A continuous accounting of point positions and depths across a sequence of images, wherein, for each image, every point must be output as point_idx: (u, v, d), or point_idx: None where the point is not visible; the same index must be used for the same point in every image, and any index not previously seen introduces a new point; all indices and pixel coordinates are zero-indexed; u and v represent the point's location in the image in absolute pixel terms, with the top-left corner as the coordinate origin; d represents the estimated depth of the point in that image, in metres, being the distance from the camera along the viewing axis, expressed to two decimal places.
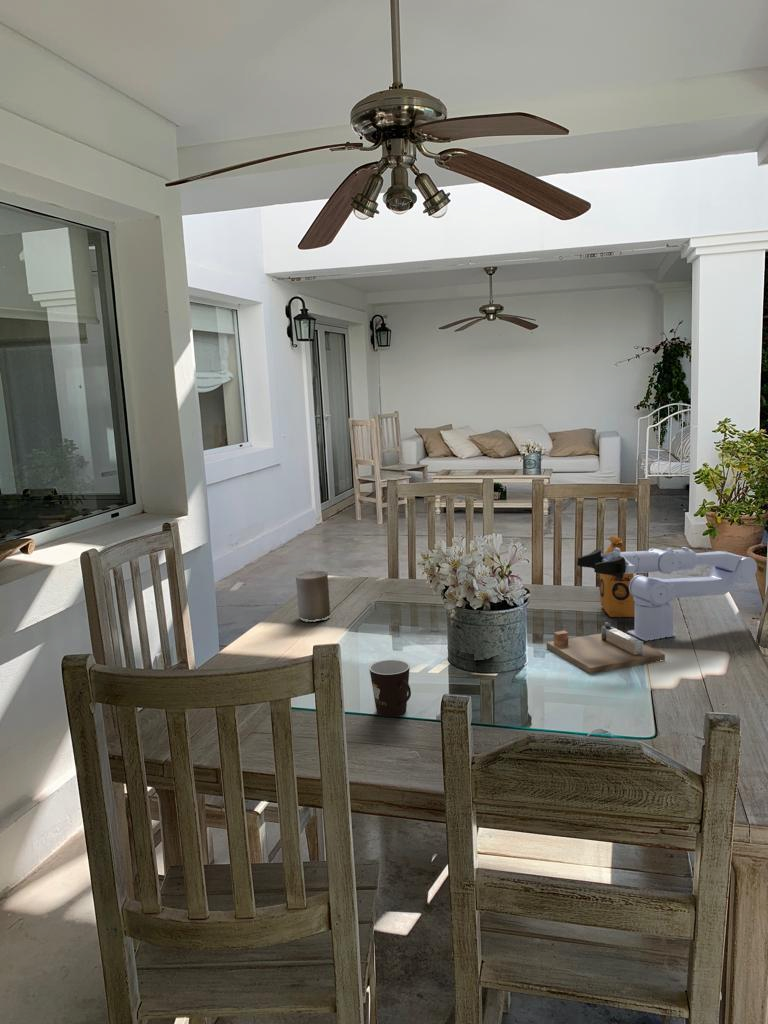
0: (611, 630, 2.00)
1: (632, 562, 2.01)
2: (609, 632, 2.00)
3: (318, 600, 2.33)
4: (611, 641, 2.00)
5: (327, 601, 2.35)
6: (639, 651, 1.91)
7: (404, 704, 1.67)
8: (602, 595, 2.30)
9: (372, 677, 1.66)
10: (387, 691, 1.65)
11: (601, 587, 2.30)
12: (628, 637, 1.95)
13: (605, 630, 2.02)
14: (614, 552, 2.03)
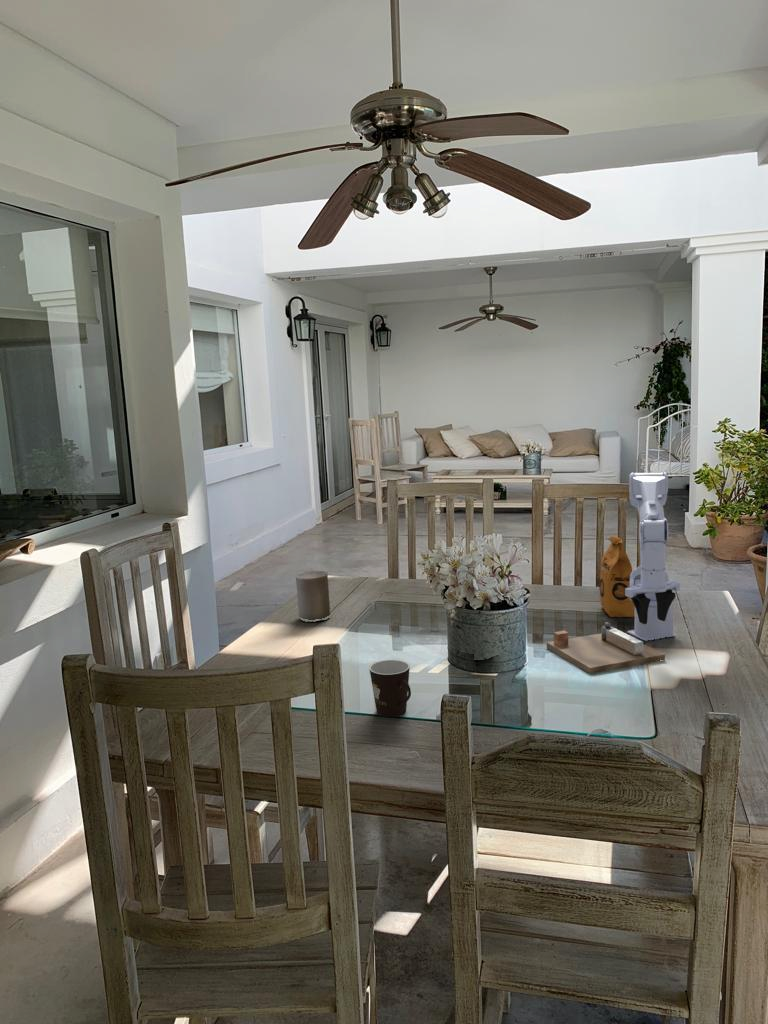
0: (611, 630, 2.00)
1: None
2: (609, 632, 2.00)
3: (318, 600, 2.33)
4: (611, 641, 2.00)
5: (327, 601, 2.35)
6: (639, 651, 1.91)
7: (404, 704, 1.67)
8: (602, 595, 2.30)
9: (372, 677, 1.66)
10: (387, 691, 1.65)
11: (601, 587, 2.30)
12: (628, 637, 1.95)
13: (605, 630, 2.02)
14: None
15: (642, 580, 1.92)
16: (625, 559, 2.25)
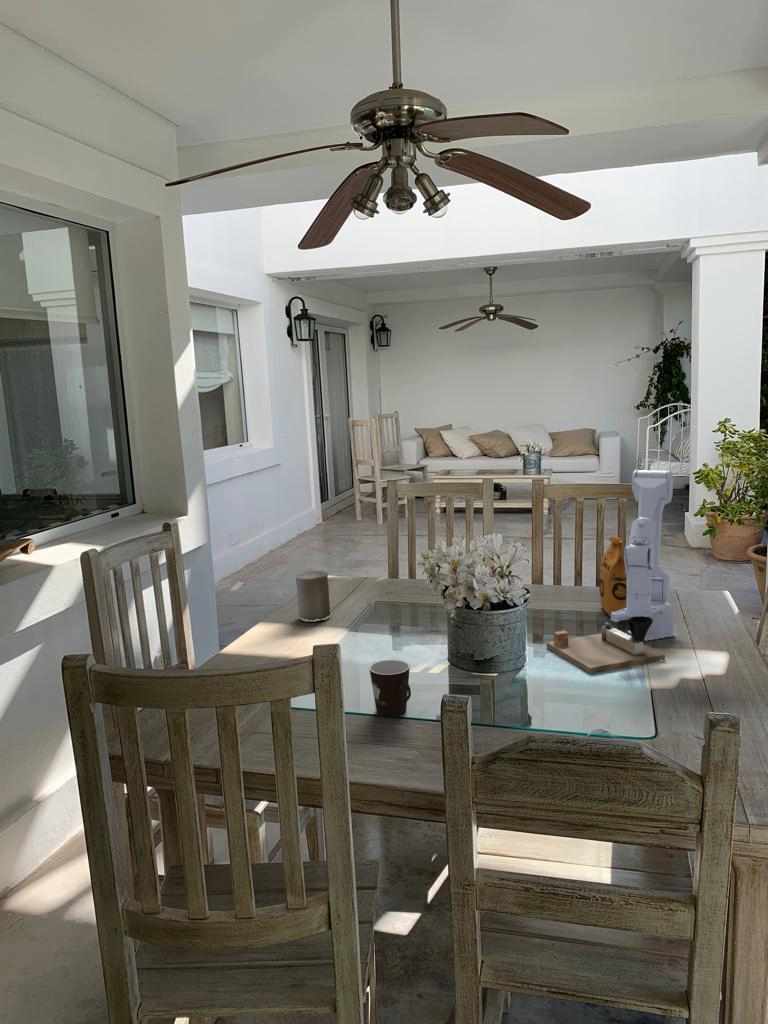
0: (611, 630, 2.00)
1: None
2: (609, 632, 2.00)
3: (318, 600, 2.33)
4: (611, 641, 2.00)
5: (327, 601, 2.35)
6: (639, 651, 1.91)
7: (404, 704, 1.67)
8: (602, 595, 2.30)
9: (372, 677, 1.66)
10: (387, 691, 1.65)
11: (601, 587, 2.30)
12: (628, 637, 1.95)
13: (605, 630, 2.02)
14: (644, 616, 1.91)
15: (627, 605, 1.93)
16: None
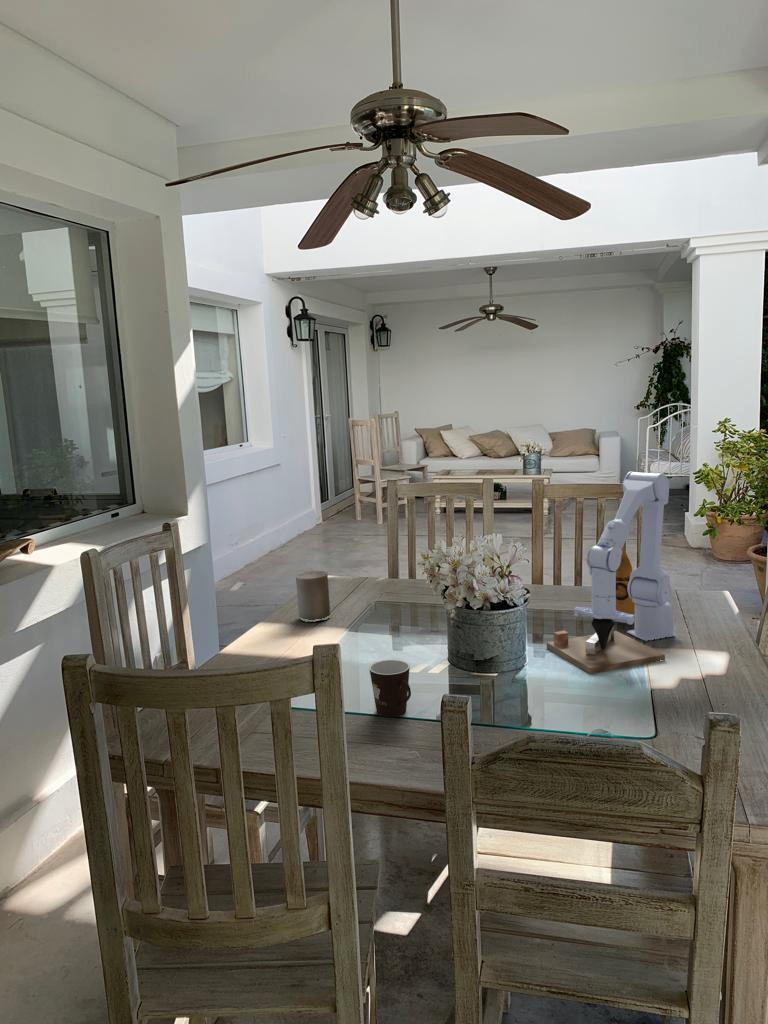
0: None
1: (613, 603, 1.90)
2: None
3: (318, 600, 2.33)
4: None
5: (327, 601, 2.35)
6: (590, 651, 1.93)
7: (404, 704, 1.67)
8: None
9: (372, 677, 1.66)
10: (387, 691, 1.65)
11: None
12: (595, 637, 1.96)
13: None
14: None
15: None
16: (625, 559, 2.25)
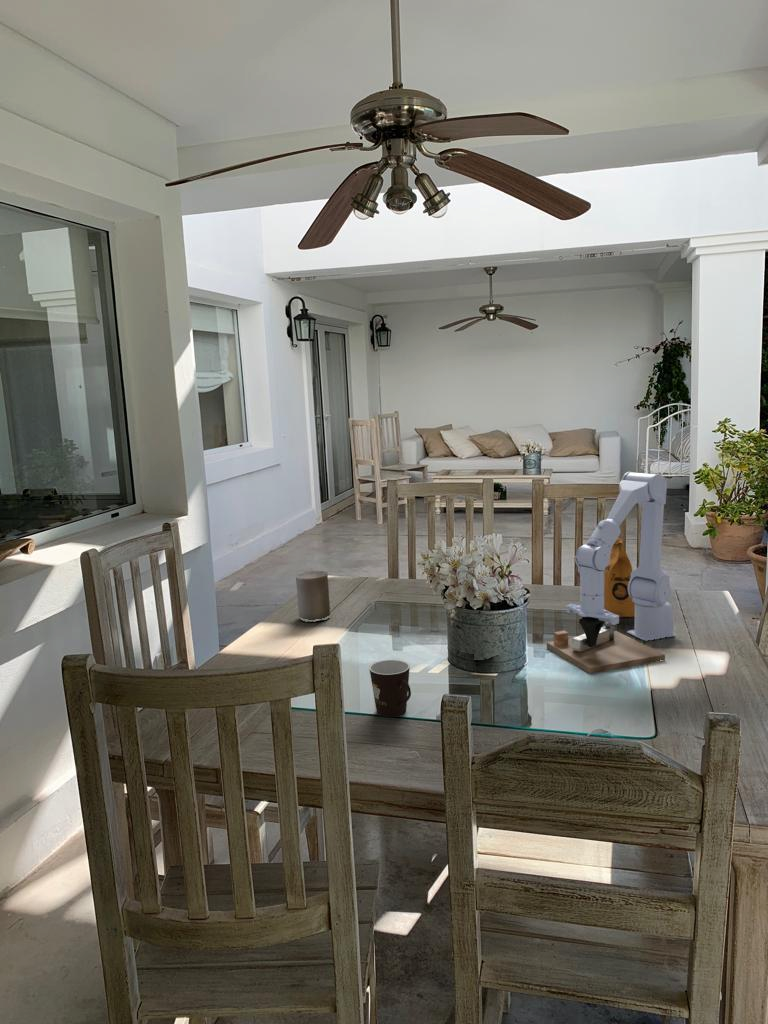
0: None
1: (599, 602, 1.91)
2: None
3: (318, 600, 2.33)
4: None
5: (327, 601, 2.35)
6: (576, 648, 1.95)
7: (404, 704, 1.67)
8: None
9: (372, 677, 1.66)
10: (387, 691, 1.65)
11: None
12: None
13: None
14: None
15: None
16: (625, 559, 2.25)
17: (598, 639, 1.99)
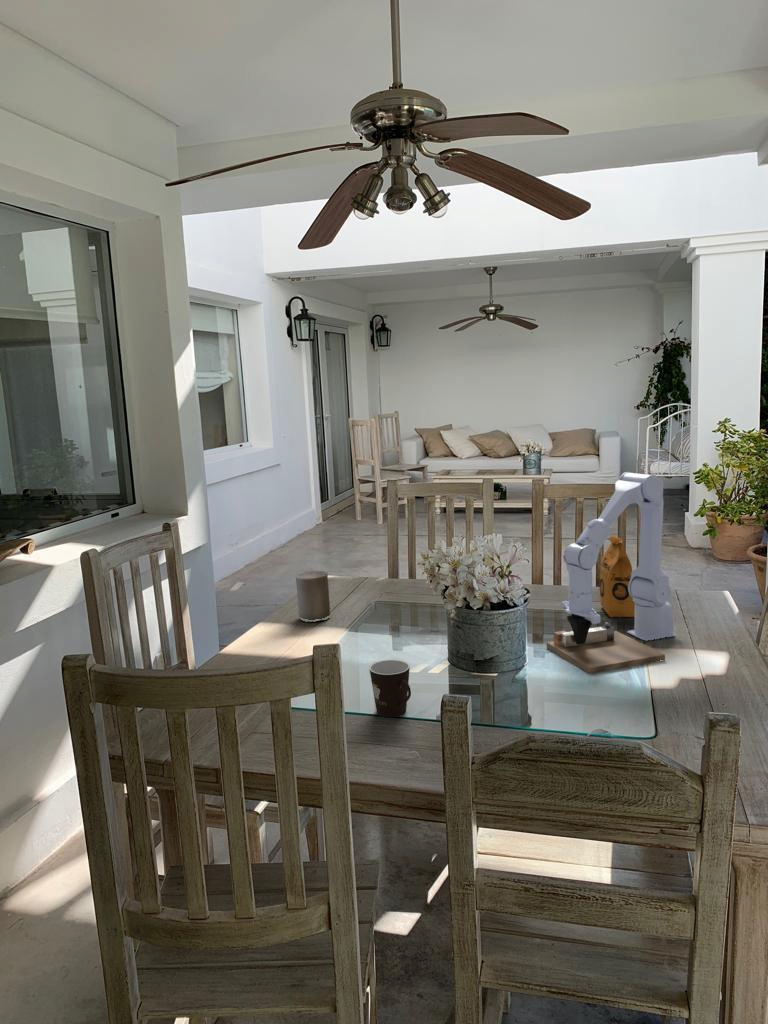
0: (598, 628, 2.03)
1: (584, 601, 1.94)
2: None
3: (318, 600, 2.33)
4: None
5: (327, 601, 2.35)
6: (563, 643, 1.99)
7: (404, 704, 1.67)
8: (602, 595, 2.30)
9: (372, 677, 1.66)
10: (387, 691, 1.65)
11: (601, 587, 2.30)
12: None
13: None
14: None
15: None
16: (625, 559, 2.25)
17: (591, 637, 2.00)
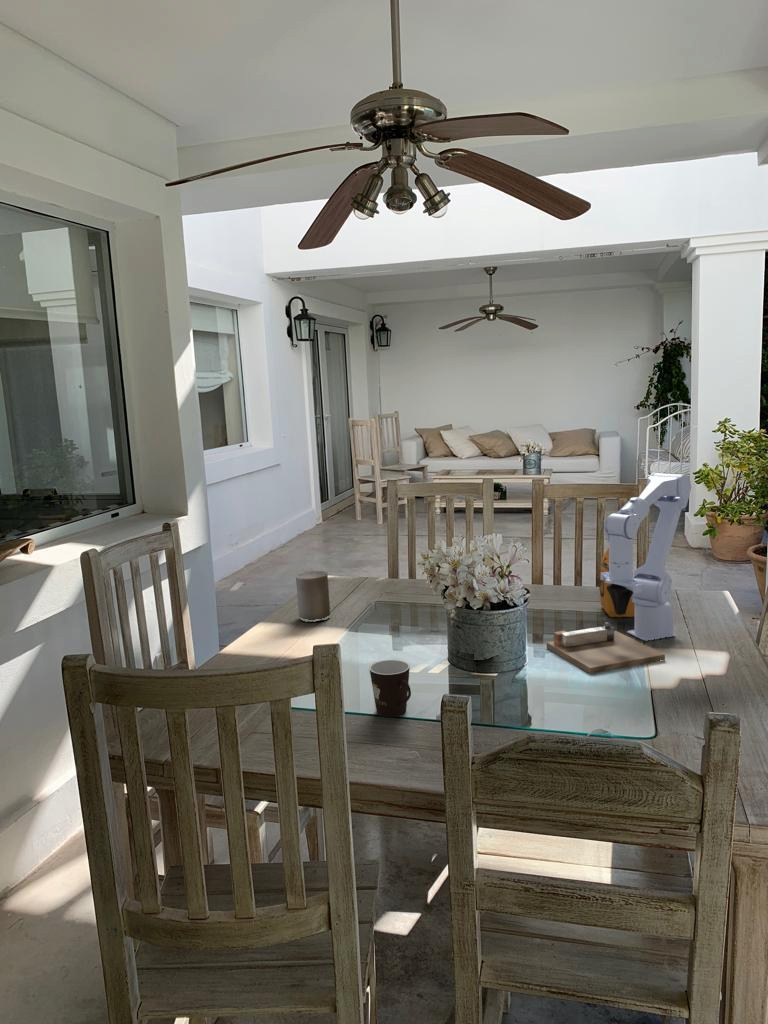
0: (598, 628, 2.03)
1: (625, 571, 1.94)
2: None
3: (318, 600, 2.33)
4: None
5: (327, 601, 2.35)
6: (563, 643, 1.99)
7: (404, 704, 1.67)
8: (602, 595, 2.30)
9: (372, 677, 1.66)
10: (387, 691, 1.65)
11: (601, 587, 2.30)
12: (577, 632, 2.00)
13: None
14: None
15: None
16: None
17: (591, 637, 2.00)
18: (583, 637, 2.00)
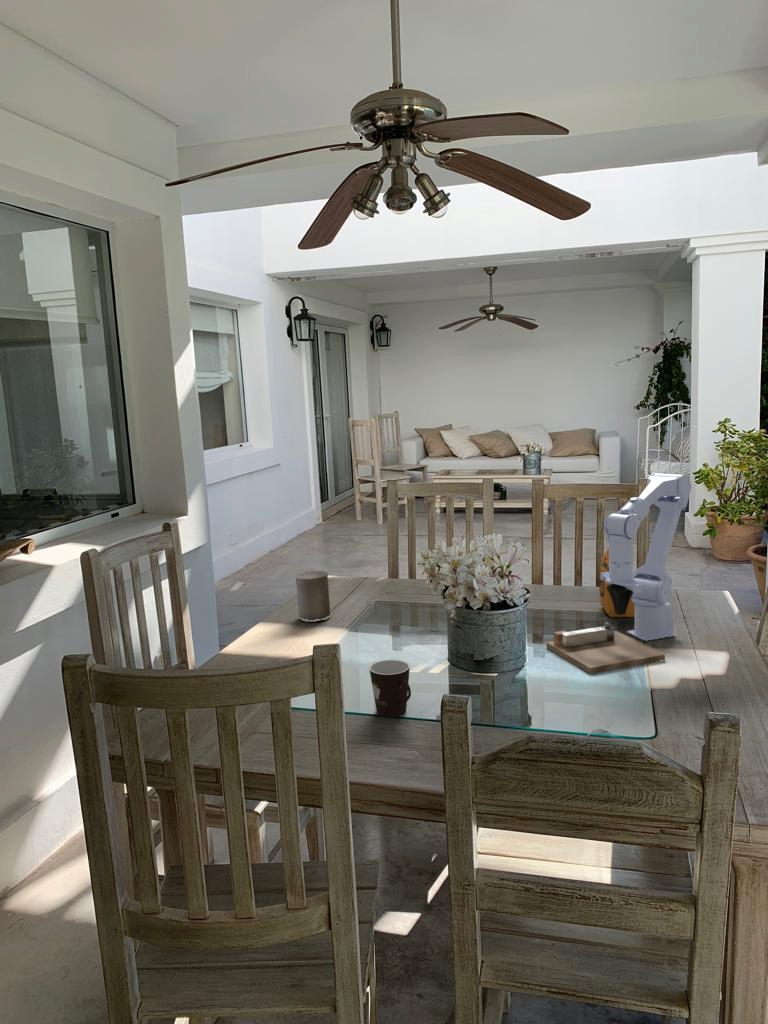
0: (598, 628, 2.03)
1: (625, 571, 1.94)
2: None
3: (318, 600, 2.33)
4: None
5: (327, 601, 2.35)
6: (563, 643, 1.99)
7: (404, 704, 1.67)
8: (602, 595, 2.30)
9: (372, 677, 1.66)
10: (387, 691, 1.65)
11: (601, 587, 2.30)
12: (577, 632, 2.00)
13: None
14: None
15: None
16: None
17: (591, 637, 2.00)
18: (583, 637, 2.00)
